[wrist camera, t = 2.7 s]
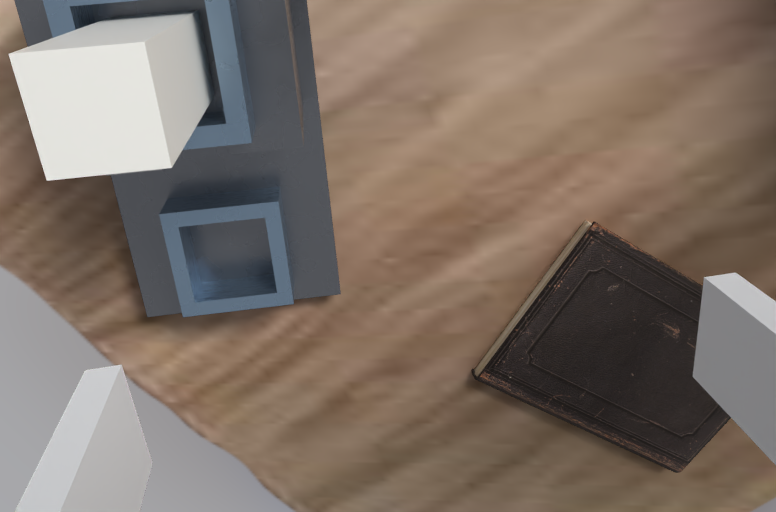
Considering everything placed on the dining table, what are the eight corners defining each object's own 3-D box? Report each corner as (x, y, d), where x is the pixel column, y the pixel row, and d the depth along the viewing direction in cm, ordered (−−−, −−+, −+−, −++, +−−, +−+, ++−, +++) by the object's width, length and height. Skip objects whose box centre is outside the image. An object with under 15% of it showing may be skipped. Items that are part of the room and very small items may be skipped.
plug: (111, 17, 31) (8, 53, 20) (198, 9, 31) (144, 41, 20) (135, 120, 33) (53, 203, 22) (217, 112, 33) (176, 191, 22)
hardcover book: (583, 211, 52) (595, 222, 50) (781, 330, 59) (799, 344, 57) (468, 367, 57) (475, 383, 55) (664, 459, 64) (677, 476, 62)
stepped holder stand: (64, -47, 40) (-56, -45, 27) (298, -66, 41) (297, -72, 28) (153, 303, 50) (98, 434, 37) (339, 281, 51) (352, 401, 38)
